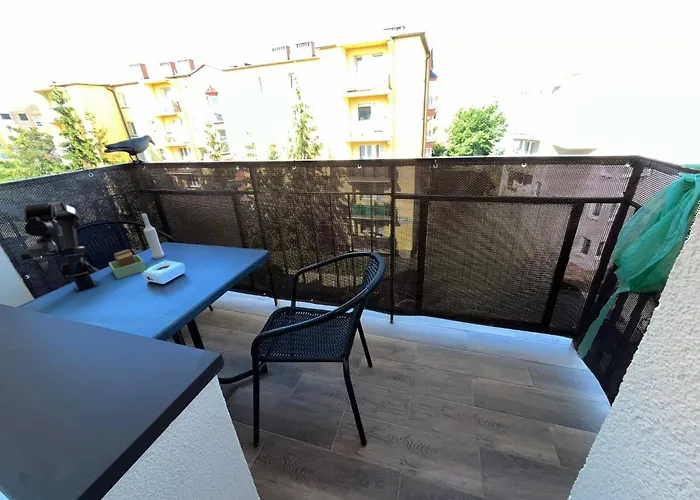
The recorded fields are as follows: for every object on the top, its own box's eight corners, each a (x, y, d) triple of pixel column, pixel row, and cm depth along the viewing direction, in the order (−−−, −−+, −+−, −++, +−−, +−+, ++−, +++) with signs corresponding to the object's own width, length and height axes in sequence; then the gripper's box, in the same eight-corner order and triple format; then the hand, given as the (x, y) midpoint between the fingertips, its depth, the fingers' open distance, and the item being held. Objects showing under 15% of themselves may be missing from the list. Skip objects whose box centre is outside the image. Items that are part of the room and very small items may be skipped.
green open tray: (112, 271, 138) (108, 262, 136) (140, 263, 146) (137, 254, 144) (117, 279, 130) (113, 270, 128) (147, 269, 138) (143, 261, 136)
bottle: (160, 258, 150) (145, 215, 140) (151, 259, 150) (135, 215, 140) (166, 254, 155) (151, 212, 144) (157, 255, 155) (142, 212, 145)
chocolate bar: (123, 273, 135) (116, 254, 131) (121, 271, 136) (113, 253, 132) (137, 268, 139) (130, 250, 135) (135, 266, 141) (127, 249, 137)
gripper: (-1, 239, 97) (11, 282, 99) (59, 234, 100) (70, 275, 102) (29, 237, 108) (39, 275, 110) (83, 232, 111) (92, 269, 113)
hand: (59, 274), depth 108 cm, fingers open, 9 cm apart
